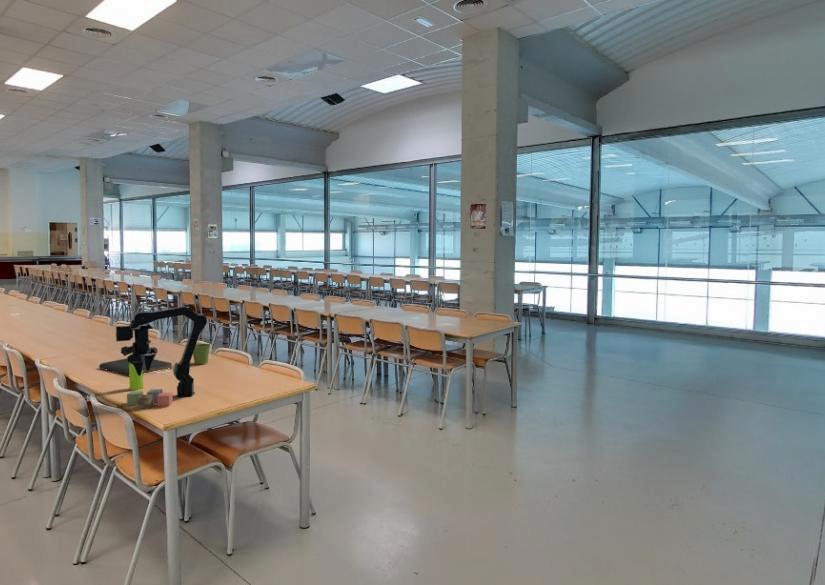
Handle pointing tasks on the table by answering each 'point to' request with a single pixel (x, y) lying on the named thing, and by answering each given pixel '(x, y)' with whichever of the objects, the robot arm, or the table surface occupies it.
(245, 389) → the table surface
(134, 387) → the soap dispenser
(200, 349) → the plant pot
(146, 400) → the walnut cube
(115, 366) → the closed laptop
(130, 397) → the olive cube
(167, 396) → the red cube
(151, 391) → the slate cube
